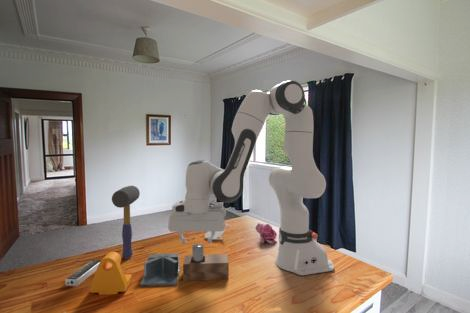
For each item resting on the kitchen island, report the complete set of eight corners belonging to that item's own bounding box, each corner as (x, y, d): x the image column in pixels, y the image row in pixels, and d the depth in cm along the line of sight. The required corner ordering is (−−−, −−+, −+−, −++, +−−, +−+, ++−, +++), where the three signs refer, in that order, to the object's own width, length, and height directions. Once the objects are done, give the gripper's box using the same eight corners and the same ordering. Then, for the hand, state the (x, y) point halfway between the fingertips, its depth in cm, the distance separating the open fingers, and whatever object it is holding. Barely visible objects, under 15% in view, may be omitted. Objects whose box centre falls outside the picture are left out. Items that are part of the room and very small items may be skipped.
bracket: (132, 281, 90) (132, 248, 89) (125, 293, 83) (124, 257, 82) (100, 282, 89) (99, 248, 89) (90, 295, 82) (89, 258, 81)
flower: (278, 247, 127) (282, 235, 121) (260, 251, 124) (262, 239, 118) (270, 228, 135) (273, 216, 129) (252, 232, 133) (254, 219, 127)
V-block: (180, 267, 100) (180, 252, 100) (176, 285, 88) (176, 268, 88) (148, 269, 99) (148, 253, 98) (140, 286, 87) (140, 269, 87)
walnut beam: (227, 269, 99) (227, 254, 99) (228, 279, 92) (228, 262, 92) (185, 270, 98) (185, 255, 97) (183, 280, 91) (183, 264, 90)
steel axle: (203, 272, 97) (203, 243, 96) (203, 277, 93) (203, 248, 92) (192, 272, 96) (192, 243, 96) (192, 278, 93) (192, 248, 92)
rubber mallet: (130, 265, 102) (129, 190, 100) (111, 265, 102) (109, 189, 100) (141, 251, 114) (141, 184, 112) (125, 251, 114) (123, 184, 112)
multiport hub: (102, 265, 102) (102, 260, 102) (77, 286, 87) (76, 279, 87) (92, 265, 102) (92, 259, 102) (64, 285, 88) (64, 279, 88)
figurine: (232, 238, 132) (232, 221, 131) (232, 241, 127) (232, 224, 127) (204, 238, 131) (204, 221, 130) (203, 241, 126) (204, 224, 126)
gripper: (225, 203, 97) (224, 239, 98) (170, 203, 95) (169, 239, 96) (226, 207, 91) (225, 245, 92) (167, 207, 89) (167, 246, 90)
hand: (196, 242), depth 94 cm, fingers open, 8 cm apart
